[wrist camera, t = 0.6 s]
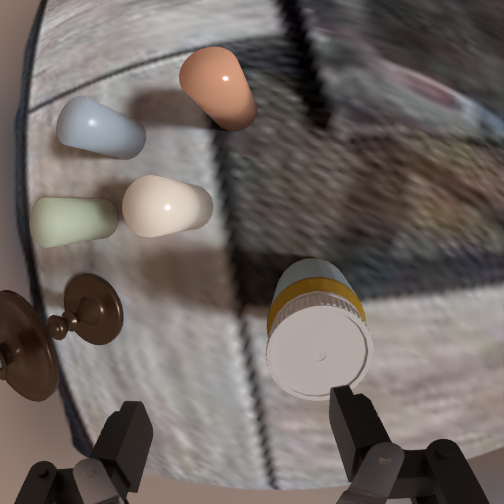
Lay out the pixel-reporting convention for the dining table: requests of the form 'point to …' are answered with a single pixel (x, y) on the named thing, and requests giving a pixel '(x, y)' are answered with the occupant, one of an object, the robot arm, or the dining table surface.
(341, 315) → the bottle
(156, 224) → the cream canister
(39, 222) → the sage canister
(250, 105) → the terracotta canister
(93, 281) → the candlestick
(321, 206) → the dining table surface
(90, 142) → the dusty blue canister
